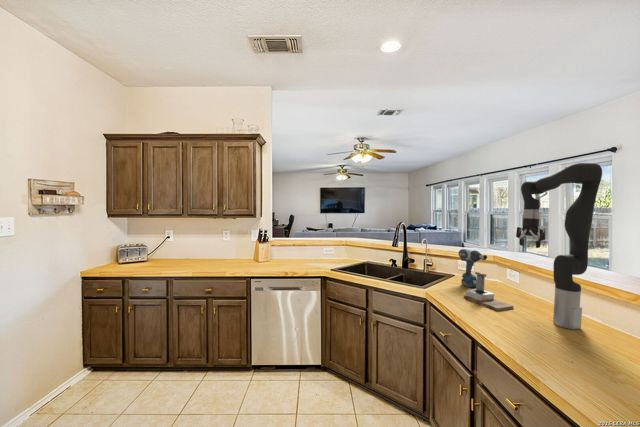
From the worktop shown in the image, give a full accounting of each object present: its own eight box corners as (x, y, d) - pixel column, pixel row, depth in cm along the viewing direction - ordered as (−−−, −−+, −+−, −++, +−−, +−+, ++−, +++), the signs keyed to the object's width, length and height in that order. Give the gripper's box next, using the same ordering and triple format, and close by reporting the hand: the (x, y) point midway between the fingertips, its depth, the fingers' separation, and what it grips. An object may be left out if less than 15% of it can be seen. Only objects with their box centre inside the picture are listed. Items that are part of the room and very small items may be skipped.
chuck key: (486, 298, 169) (487, 274, 168) (481, 299, 168) (482, 274, 167) (476, 295, 175) (477, 271, 175) (471, 296, 174) (472, 272, 173)
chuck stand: (513, 308, 158) (513, 299, 158) (497, 311, 154) (497, 301, 154) (478, 296, 179) (478, 288, 179) (463, 298, 175) (463, 289, 174)
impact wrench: (479, 292, 188) (481, 253, 186) (454, 282, 209) (456, 247, 208) (489, 291, 190) (491, 252, 189) (463, 281, 211) (465, 247, 210)
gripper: (513, 216, 168) (512, 245, 169) (540, 218, 155) (538, 248, 156) (522, 217, 171) (521, 244, 172) (549, 218, 158) (547, 248, 158)
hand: (529, 246), depth 164 cm, fingers open, 8 cm apart
